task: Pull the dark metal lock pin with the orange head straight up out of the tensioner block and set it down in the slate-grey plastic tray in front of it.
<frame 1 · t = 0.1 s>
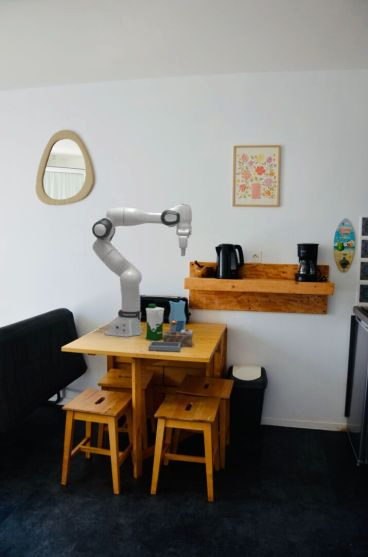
hand: (183, 255, 242), 48 cm above the table, fingers open, 8 cm apart
lock pin: (173, 342, 226), point 1 cm above the table, touching tensioner block
tensioner block: (179, 344, 226), on the table
tray: (165, 348, 217), on the table
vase: (176, 334, 250), on the table
milk carton: (154, 339, 237), on the table
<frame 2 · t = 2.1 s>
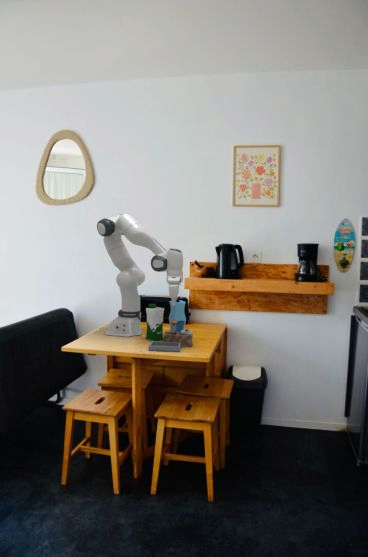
hand: (174, 303, 224), 22 cm above the table, fingers open, 8 cm apart
nothing on the table moved.
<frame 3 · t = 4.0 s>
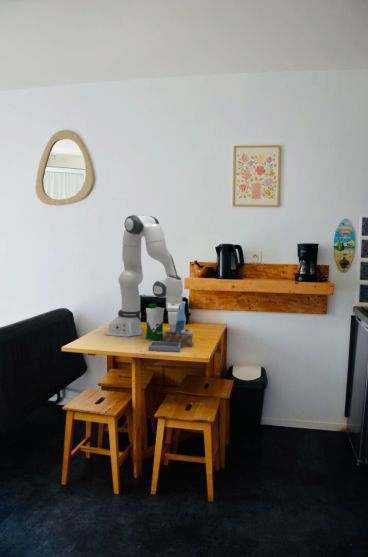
hand: (173, 330, 226), 8 cm above the table, fingers closed on lock pin, 3 cm apart
lock pin: (173, 342, 226), point 1 cm above the table, touching gripper, tensioner block
everything else where it was.
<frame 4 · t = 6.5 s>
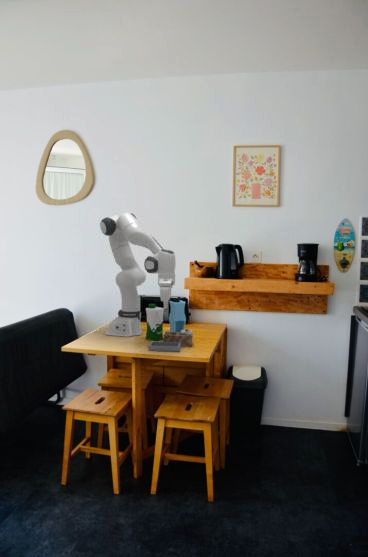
hand: (166, 307, 214), 22 cm above the table, fingers closed on lock pin, 3 cm apart
lock pin: (165, 320, 215), point 15 cm above the table, touching gripper
everything else where it was.
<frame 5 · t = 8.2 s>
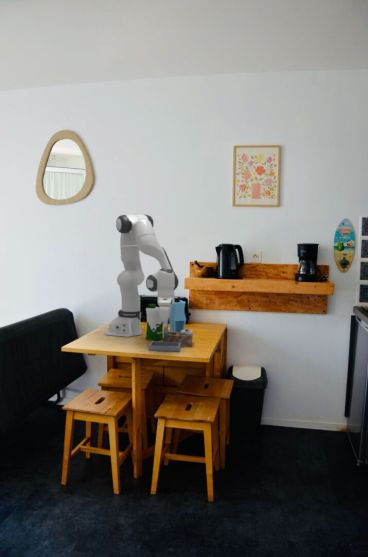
hand: (165, 326, 215), 12 cm above the table, fingers closed on lock pin, 3 cm apart
lock pin: (165, 338, 216), point 5 cm above the table, touching gripper
everything else where it was.
when the fingers open (9 cm above the table, at t = 9.2 s): lock pin drops 1 cm, resting on tray.
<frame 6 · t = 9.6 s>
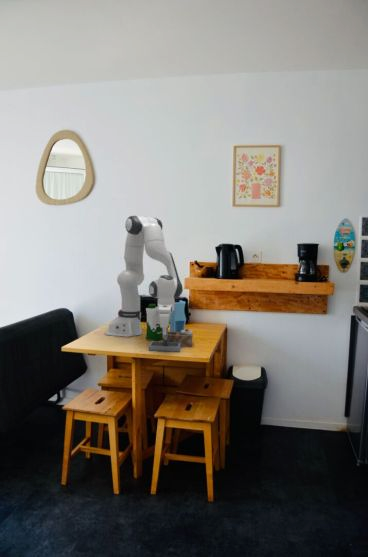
hand: (165, 332, 216), 9 cm above the table, fingers open, 7 cm apart
lock pin: (165, 347, 217), point 1 cm above the table, touching tray
everything else where it was.
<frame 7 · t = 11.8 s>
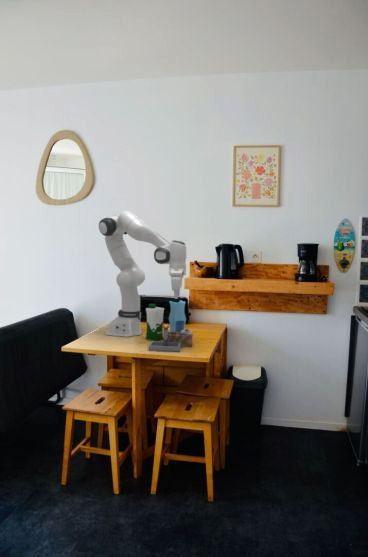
hand: (176, 297, 220), 27 cm above the table, fingers open, 8 cm apart
nothing on the table moved.
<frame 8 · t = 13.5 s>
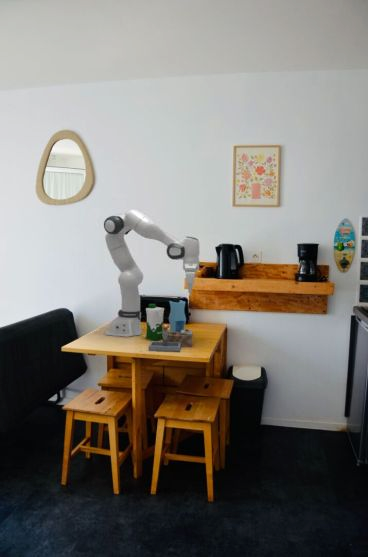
hand: (190, 291, 227), 29 cm above the table, fingers open, 8 cm apart
nothing on the table moved.
at the end: lock pin inside the target area on the tray (0.1 cm from its centre), point 0.6 cm above the tray's base; lock pin touching tray; the gripper is holding nothing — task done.
